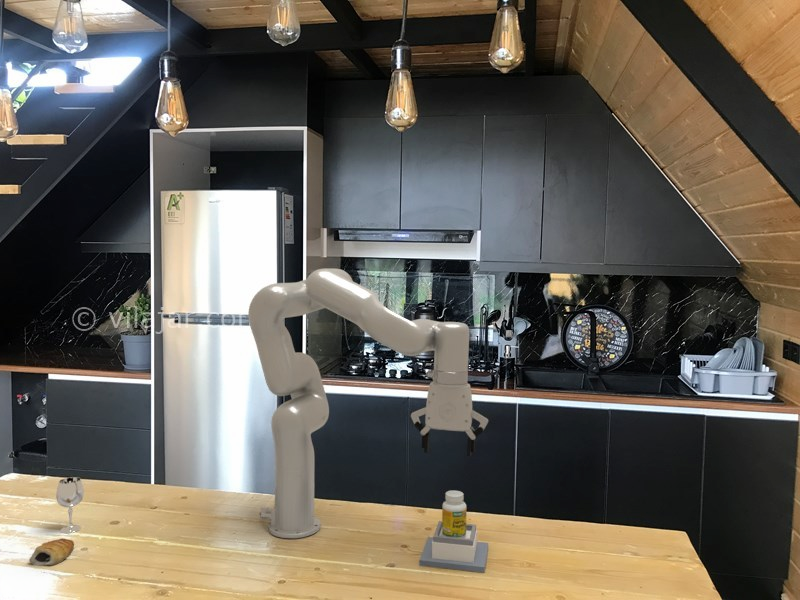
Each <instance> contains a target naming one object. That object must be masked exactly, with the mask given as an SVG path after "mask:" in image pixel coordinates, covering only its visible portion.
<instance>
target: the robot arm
mask: <svg viewBox="0 0 800 600" xmlns="http://www.w3.org/2000/svg"><path fill="white" fill-rule="evenodd" d="M323 309H327V310H329V311H331V312H332V313H335V314H337V316H338V315H339V316H340V317H342V318H344V319H346V320H348V321H350V322H351V323H353V324H355V325H357V326H358V327H359V328H360V329H361V330H362V331H363V332H364V333H365V334H367V335H368V337H370V338H372V339H373V340H374V341H376V342H378V343H379V344H381V345H383V346H385V347H387V348H389V349H391V350H392V351H395V352H397V353H398V354H400V355H403V356H408V357H415V356H418V355H421V354H423V353H426V352H429V351H431V352H432V351H434V355H433V358H434V359H433V361H434V362H433V369H432V370H427V372H426V373H427V375H426V376H427V378H430V379H432V381H431V382H430V383H429V386H428V390H427V398H426V403H425V404H426V406H425V407H423V408H421V409H418V410H416V411H412V413H411V414H410V418H411V420H412V422H413V424H414V427H415V428H416V429H417V430H418V432H420V435H421V448H422V449H423V452H424V454H427V453H429V451H430V443H431V441H430V440H431V433H430V430H439V431H440V430H441V431H453V432H465V433H466V435H467V436H468V438H467V447H466V451H467V452H466V457H468V458H471V457H472V454H473V453H474V454H475V451H476V450H475V447H476V445H475V444H476V439H477V438H478V437H479V435H481V434H482V433H483V432H484V430H485V429H486V427H487V425H488V424H489V419H488V418H487V417H485V416H483V415H482V414H480V413H479V412H476V411H475V410H474V409H473V398H472V397H473V396H472V389H471V384H470V383H468V378H469V376H468V374H469V373H468V372H469V348H470V343H469V342H470V328H469V326H468V325H467V324H466V323H464V322H459V321H457V322H456V321H437V320H432V319H426V318H418V319H413V320H409V319H407V318H405V317H403V316H401V315H400V314H397V313H395V312H394V311H392V310H391V309H389V308H388V307H386V306H384V305H383V304H382V303H381V301H380V300H379V296H378V294H377V293H376V292H375V291H372V290H371V289H368V288H367V287H365V286H363V285H362V284H361V285H360V284H358V283H357V282H355V281H354V280H353V278H352V277H351V275H350V274H349V273H348V272H346V271H345V270H343V269H340V268H326V267H325V268H319V269H316V270H313V271H312V272H311V273H310V274H309V275H308V277H307V278H306V279H303V280H300V281H297V282H296V281H295V282H277V283H272V284H268V285H266V286H264V287H262V288H261V289H260V290H259V291H257V292H256V294H255V295H254V296H253V298H252V299H251V302H250V304H249V308H248V322H249V326H250V330H251V334H252V336H253V339H254V341H255V345H256V349H257V353H258V358H259V361H260V364H261V368H262V373H263V377H264V381H265V383H266V386H267V388H268V390H269V392H271V394H273V395H275V396H277V397H284V396H285V397H286V396H290V397H291V399H289V400H287V401H284V402H283V403H282V404H280V405H279V406H278V407H277V408H276V409H275V411H274V412H273V414H272V416H271V421H270V424H271V434H272V438H273V445H274V446H273V447H274V507H273V508H270V507H266V506H265V507H264V506H261V508H260V509H259V515H260V519H262V520H264V519H265V520H267V519H268V520H269V523H268V525H267V529H268V532H269V533H270V534H271V535H273V536H275V537H278V538H281V539H299V538H305V537H309V536H312V535H313V534H315V533H317V532H318V531H319V530H321V525H322V524H321V520H320V519H319V518H318V517H317V516H315V450H314V449H315V448H314V444H313V442H312V436H311V435H312V433H314V432H315V431H317V430H319V429H321V428H323V427H324V426H325V424H326V423H327V422H328V419H329V414H330V407H329V406H330V405H329V402H328V398H327V395H326V394H327V393H326V391H325V387H324V384H323V379H322V376H321V373H320V369H319V367H318V364H317V363H316V362H315V360H314V358H313V357H311V356H310V355H309V354H307V353H304V352H296V351H295V348H294V343H293V340H292V336H291V335H290V332H289V330H288V329H287V327H286V326H285V323H284V319H285V318H293V317H300V316H304V315H307V314H312V313H314V312H317V311H319V310H323ZM424 415H425V417H424V420H425V421H424V422H425V425H424V424H423V423H422V421H420V418H419V417H421V416H424ZM473 420H476V421H477V422H479V426H478V427H476V429H474V427H473V426H472V423H473Z"/></svg>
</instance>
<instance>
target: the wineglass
mask: <svg viewBox="0 0 800 600" xmlns="http://www.w3.org/2000/svg"><path fill="white" fill-rule="evenodd" d="M83 498H84V485H83V483H82V479H81V478H80V477H79V476H78V477H73V476H70V477H65V478H62V479H60V480H59V481H58V484H57V488H56V502H57V503H58V505H59V506H61V507H64V508H67V512H68V513H67V514H68V519H69V522H68V525H67V526H64V527H62V528H61V529H60V530H59V531H60V533H61V534H71V533H77V532H78V531H80V530H81V529H82V527H81V526H80V525H77V524H73V522H72V517H73V511H74V509H73V507H75V506H77V505H78V504H80V503H81V502H82V501H83Z"/></svg>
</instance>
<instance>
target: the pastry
mask: <svg viewBox="0 0 800 600" xmlns="http://www.w3.org/2000/svg"><path fill="white" fill-rule="evenodd" d="M74 547H75V542H74V540H72V539H67V538H59V539H54V540H51V541H47V542H43V543H42V544H41V545H39V546H36V548H35V550H33V551H34V552H32V555H31V557H30V558H29V563H31V565H34V566H53V565H58V564H60V563H62V562H63V561H64V560H65V559H68V558H69V557H70V555H71V554H72V553H73V551H74V550H75V549H74Z"/></svg>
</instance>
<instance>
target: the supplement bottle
mask: <svg viewBox="0 0 800 600" xmlns="http://www.w3.org/2000/svg"><path fill="white" fill-rule="evenodd" d="M444 495H445V497H444V499H445V501H443V503H442V509H441V511H442V512H441V513H442V515H441V516H442V520H441V521H442V534H443V536H447V537H457V538H464V537H465V536H466V524H467V504H466V502H465V501H464V498H465V496H464V495H465V494H464V493H463V492H462V491H460V490H457V489H456V490H448V491H446V492H445V493H444Z"/></svg>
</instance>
